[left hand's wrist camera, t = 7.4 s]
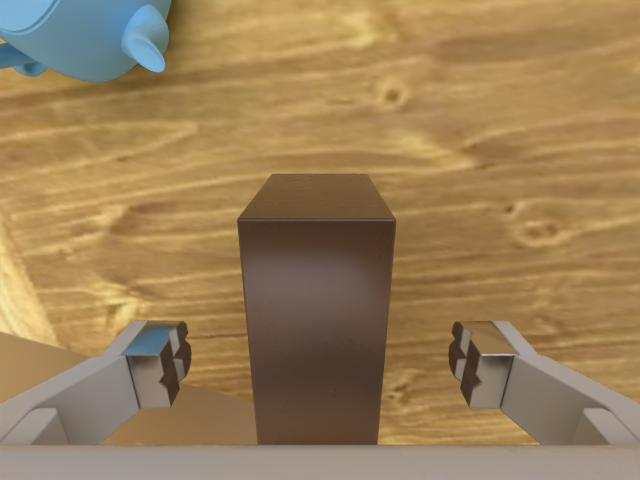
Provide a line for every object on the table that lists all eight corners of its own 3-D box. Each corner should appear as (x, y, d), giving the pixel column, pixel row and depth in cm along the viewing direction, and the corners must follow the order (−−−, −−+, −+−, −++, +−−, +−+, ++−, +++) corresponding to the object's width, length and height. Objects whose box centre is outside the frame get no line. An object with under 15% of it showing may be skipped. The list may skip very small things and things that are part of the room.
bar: (271, 173, 19) (236, 218, 12) (367, 173, 19) (396, 218, 12) (287, 479, 29) (273, 620, 21) (352, 480, 29) (362, 621, 21)
